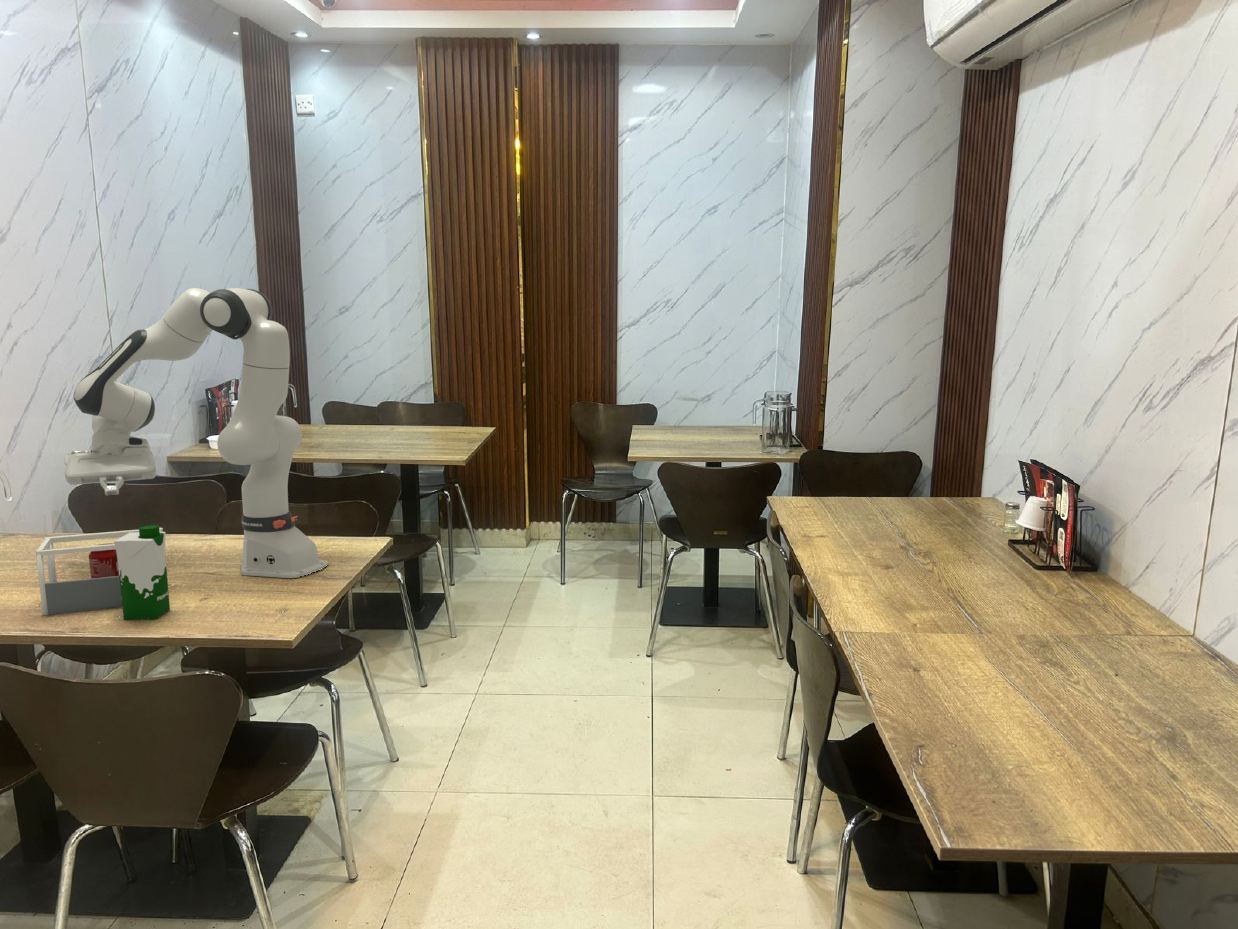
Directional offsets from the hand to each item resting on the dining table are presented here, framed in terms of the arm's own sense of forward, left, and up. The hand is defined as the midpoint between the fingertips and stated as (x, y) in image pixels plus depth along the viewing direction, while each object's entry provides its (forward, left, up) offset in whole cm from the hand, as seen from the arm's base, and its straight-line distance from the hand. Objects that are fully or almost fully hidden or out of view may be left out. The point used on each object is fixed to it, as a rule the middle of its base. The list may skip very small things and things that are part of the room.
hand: (111, 493), depth 231 cm
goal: (-14, +15, -21) cm, 29 cm away
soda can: (-12, +12, -21) cm, 27 cm away
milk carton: (-31, +19, -21) cm, 42 cm away
